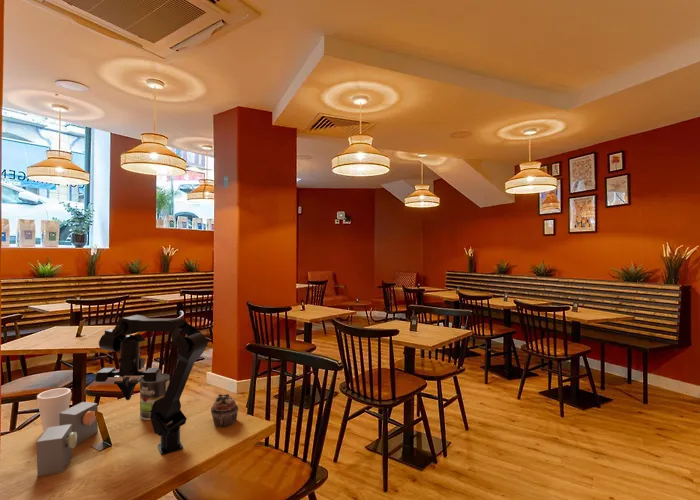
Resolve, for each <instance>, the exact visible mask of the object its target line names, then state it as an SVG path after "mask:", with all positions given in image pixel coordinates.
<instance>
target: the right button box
mask: <svg viewBox="0 0 700 500" xmlns="http://www.w3.org/2000/svg"><path fill="white" fill-rule="evenodd" d="M98 408H99V407H98V403H96V402H87V401H81V402H79V403H77V404H75V405H73V406H72V407H69V409H67V410H65V411H63V412H61V413H59V420H60V426H61V425H69V424H72V432H76V433H77V442H76V446H77V445H78V444H80V443H81V442H83V441H85V440H87V439H88V438H90V437H91V436H93V435H95V434H96V433H98V432H99V423H98V424H97V420H96V419H95V421H94V422H93V423H92V424H91V425H84V424H83V422H82V419H83V415H84V414H85V413H86V412H87V411H99V410H98Z"/></svg>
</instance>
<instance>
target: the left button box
mask: <svg viewBox="0 0 700 500" xmlns="http://www.w3.org/2000/svg"><path fill="white" fill-rule="evenodd" d="M71 432H72V424H69V425H61V426H54V427H48V428H47V430H46V431H45V432H43V434H41V436H40V437H39V438H38V439H37V441H36V464H37V465H36V466H37V467H36V471H37V474H36V475H37V477H43V476H48V475H54V474H55V475H56V474H61V473H63V472H64V470H66V467H67V466H68V464H69V462H70V461H71V460H72V458H73V448H70V449H69V448H68V444H66V441H65V438H68V437H69V434H70V433H71Z"/></svg>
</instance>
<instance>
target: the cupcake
mask: <svg viewBox="0 0 700 500" xmlns="http://www.w3.org/2000/svg"><path fill="white" fill-rule="evenodd" d="M238 412H239V406H238V405H237V403H236V401H235V400H234V398H232V396H230V394H228V393H227V394H224V395H223V394H218V395H217V396H216V397H215V400H214V402H213V404H212V406H211V407H210V413H211V417H212V421H213V424H214V426H215V427H217V428H226V427H230V426H233V425H235V423H236V422H237V418H238ZM232 424H233V425H232Z"/></svg>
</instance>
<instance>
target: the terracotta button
mask: <svg viewBox="0 0 700 500" xmlns="http://www.w3.org/2000/svg"><path fill="white" fill-rule="evenodd" d="M95 419H96V416H95V411H87V412H86V413H85V414H84V415H83V419H82V422H83V424H84V425H91V424H92V423H93V422H94V421H95Z"/></svg>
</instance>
